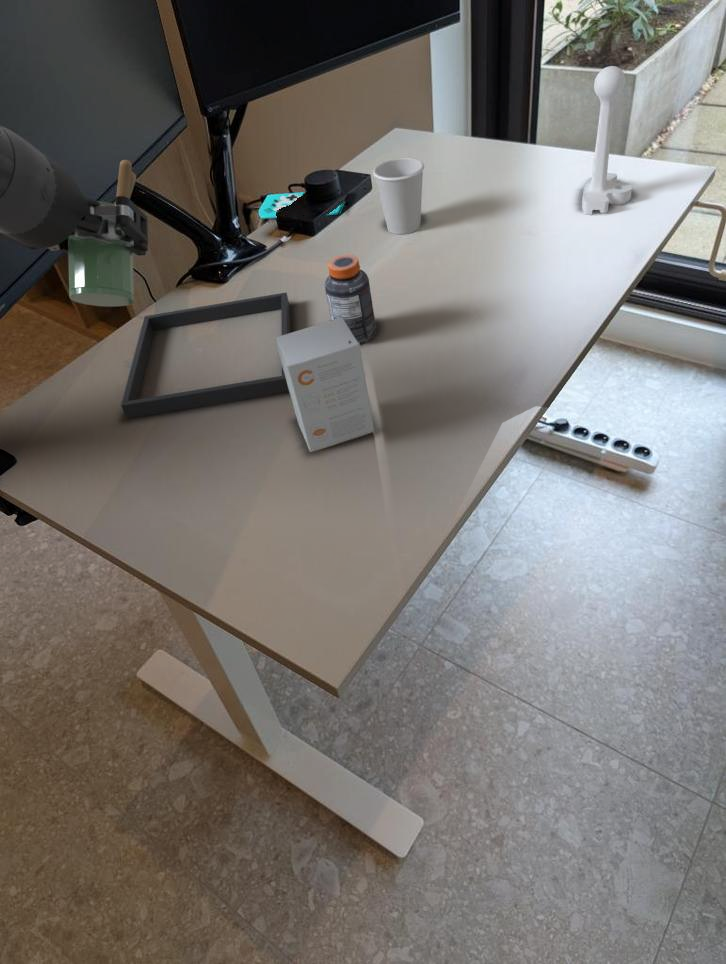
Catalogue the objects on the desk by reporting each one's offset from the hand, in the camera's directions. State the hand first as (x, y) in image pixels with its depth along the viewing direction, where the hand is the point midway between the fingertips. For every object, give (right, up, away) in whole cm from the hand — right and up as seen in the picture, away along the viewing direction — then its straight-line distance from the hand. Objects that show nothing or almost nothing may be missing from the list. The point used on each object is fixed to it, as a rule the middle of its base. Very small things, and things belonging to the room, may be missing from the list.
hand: (111, 247), depth 72 cm
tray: (+6, -8, +24) cm, 26 cm away
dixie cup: (+34, +19, +45) cm, 60 cm away
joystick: (+68, +22, +42) cm, 83 cm away
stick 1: (+2, +1, -2) cm, 3 cm away
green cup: (0, -6, -2) cm, 6 cm away
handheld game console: (+15, +27, +56) cm, 64 cm away
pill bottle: (+26, -4, +24) cm, 35 cm away
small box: (+24, -19, +10) cm, 32 cm away
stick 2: (+1, +1, -1) cm, 2 cm away
